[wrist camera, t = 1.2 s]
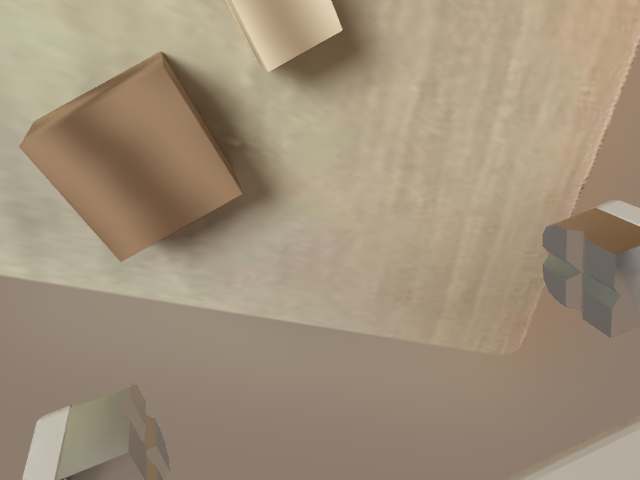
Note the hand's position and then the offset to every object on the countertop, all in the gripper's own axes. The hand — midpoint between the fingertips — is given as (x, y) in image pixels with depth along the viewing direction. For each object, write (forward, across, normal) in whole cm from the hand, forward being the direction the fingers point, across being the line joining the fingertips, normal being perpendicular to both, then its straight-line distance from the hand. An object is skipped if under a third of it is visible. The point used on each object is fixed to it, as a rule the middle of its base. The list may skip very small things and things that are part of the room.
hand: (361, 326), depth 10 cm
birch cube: (+28, -6, -5) cm, 29 cm away
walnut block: (+29, +5, +2) cm, 29 cm away
